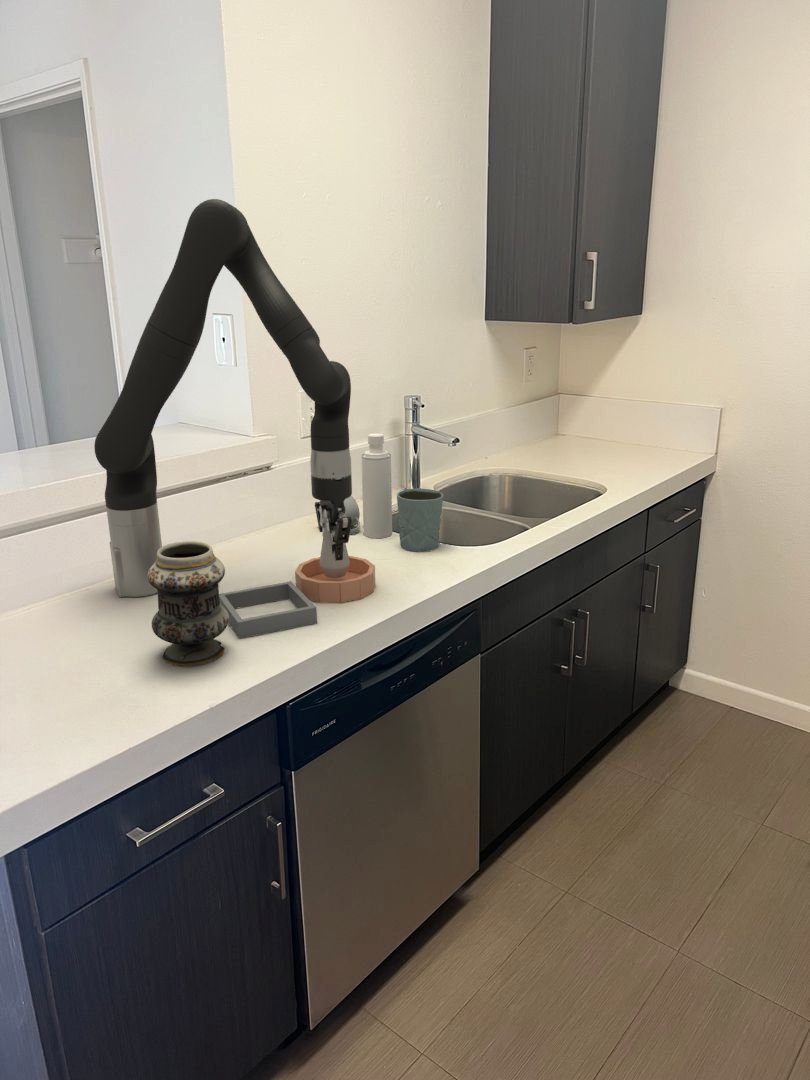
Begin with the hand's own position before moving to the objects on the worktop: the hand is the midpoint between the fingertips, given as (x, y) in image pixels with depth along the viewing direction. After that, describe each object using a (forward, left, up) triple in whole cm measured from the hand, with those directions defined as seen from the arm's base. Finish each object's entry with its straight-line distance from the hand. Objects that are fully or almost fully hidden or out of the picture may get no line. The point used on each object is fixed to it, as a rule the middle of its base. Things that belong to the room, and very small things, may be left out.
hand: (334, 558), depth 159 cm
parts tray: (-16, -7, -6) cm, 18 cm away
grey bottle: (+21, +27, -6) cm, 35 cm away
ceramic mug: (+15, +35, -6) cm, 38 cm away
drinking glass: (+26, +15, -6) cm, 31 cm away
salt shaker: (0, 0, -3) cm, 3 cm away
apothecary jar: (-31, -16, -6) cm, 35 cm away
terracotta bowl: (0, 0, -6) cm, 6 cm away
